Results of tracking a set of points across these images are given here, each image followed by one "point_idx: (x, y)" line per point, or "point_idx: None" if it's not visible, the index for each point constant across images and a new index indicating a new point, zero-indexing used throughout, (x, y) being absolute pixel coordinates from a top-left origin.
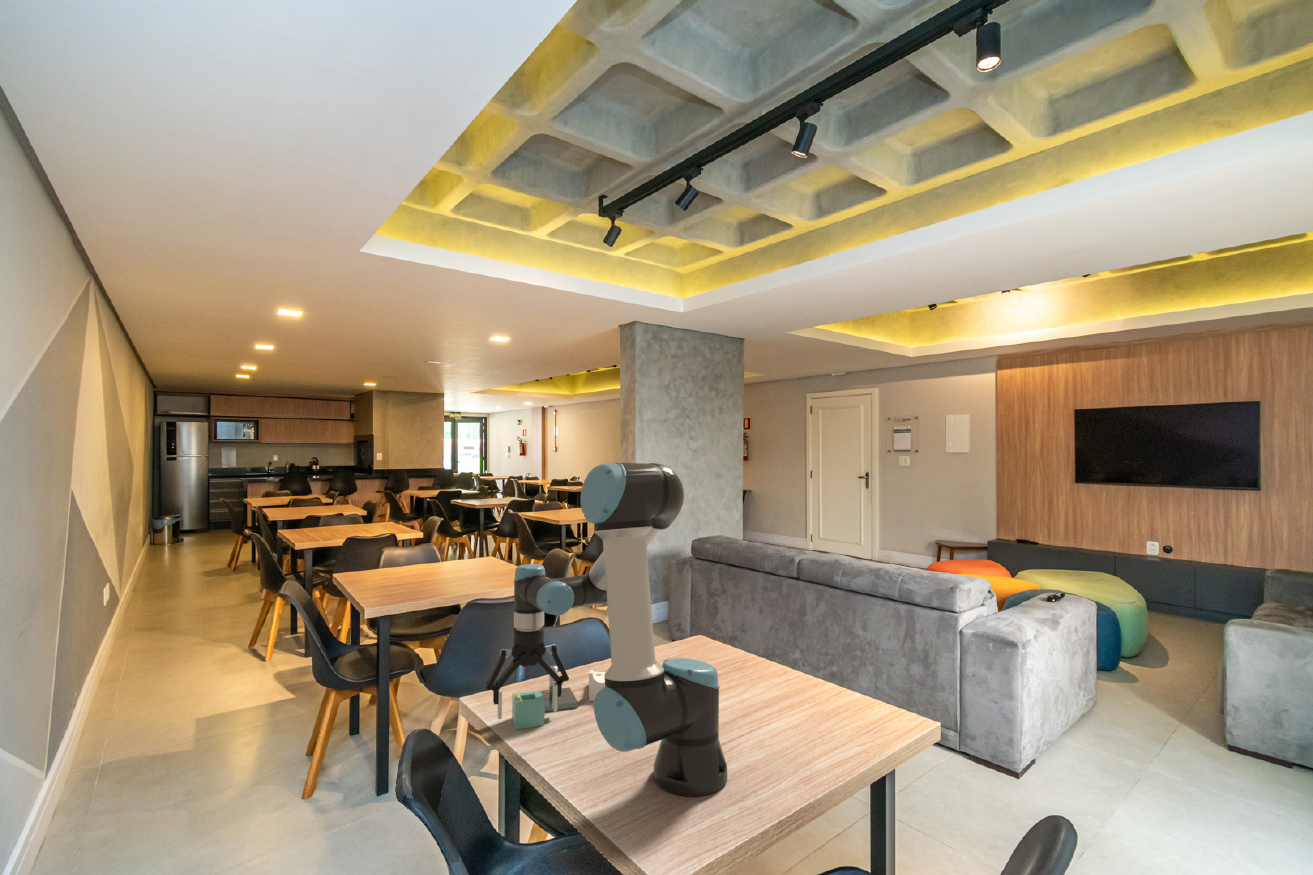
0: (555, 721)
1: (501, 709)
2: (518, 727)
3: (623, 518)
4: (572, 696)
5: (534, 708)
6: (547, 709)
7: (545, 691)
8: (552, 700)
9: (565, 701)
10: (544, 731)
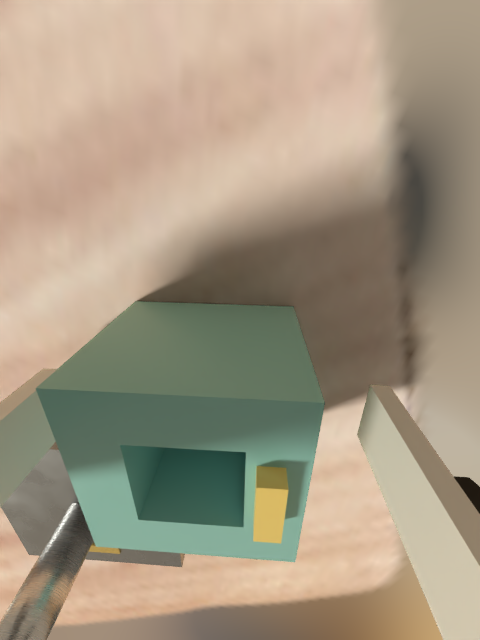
0: (78, 326)
1: (398, 426)
2: (276, 309)
3: None
4: None
5: (156, 356)
6: None
7: (121, 554)
8: (47, 450)
9: None
10: (135, 220)
